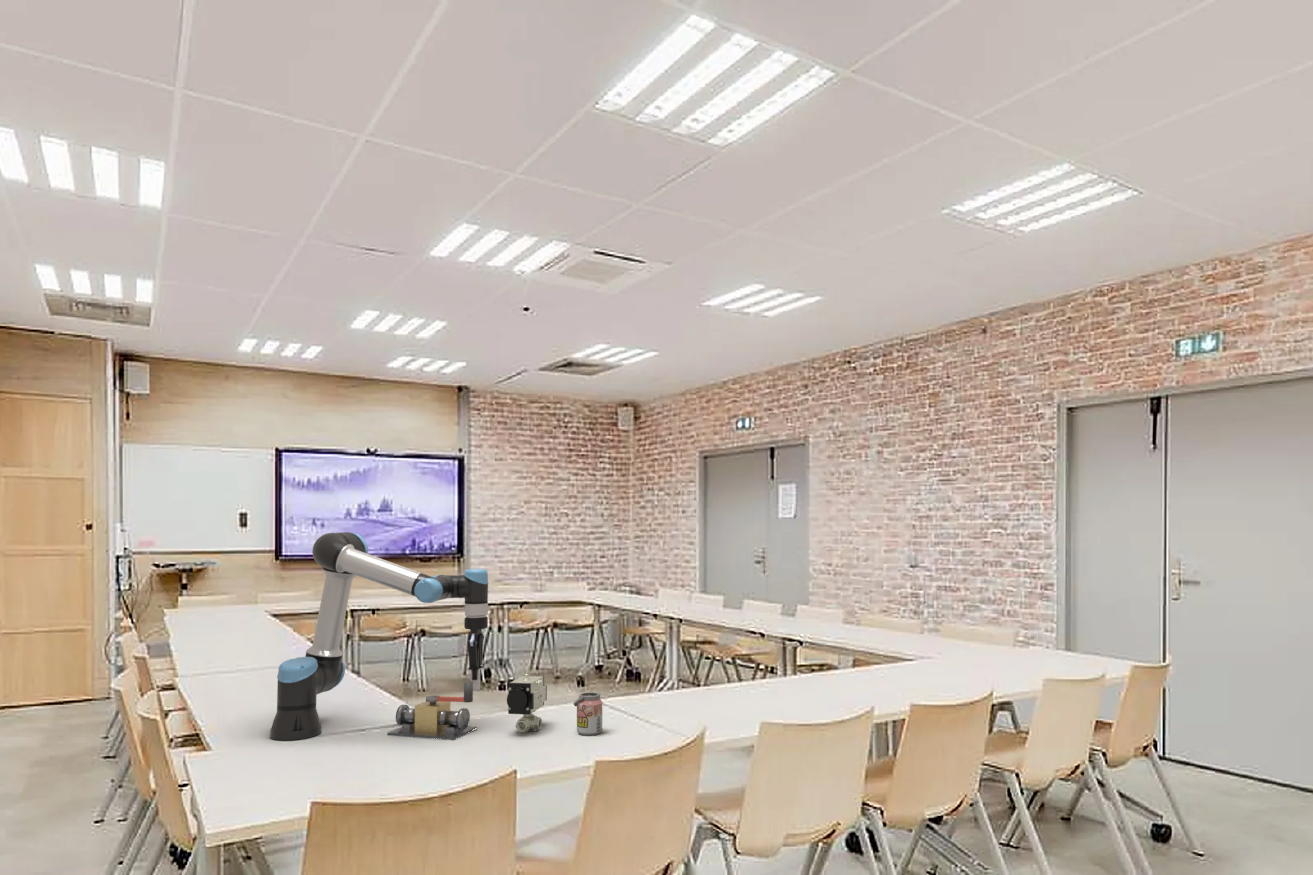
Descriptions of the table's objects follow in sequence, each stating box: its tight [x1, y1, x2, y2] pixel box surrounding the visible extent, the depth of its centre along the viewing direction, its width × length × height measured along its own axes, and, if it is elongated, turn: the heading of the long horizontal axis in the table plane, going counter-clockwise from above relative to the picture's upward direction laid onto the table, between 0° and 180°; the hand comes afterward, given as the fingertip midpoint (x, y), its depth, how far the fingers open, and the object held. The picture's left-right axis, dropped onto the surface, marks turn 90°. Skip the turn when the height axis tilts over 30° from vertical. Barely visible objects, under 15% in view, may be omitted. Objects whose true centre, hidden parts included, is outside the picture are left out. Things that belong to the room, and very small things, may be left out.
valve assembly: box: [386, 701, 478, 741], centre depth 274 cm, size 24×14×10 cm, turn 73°
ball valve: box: [506, 673, 548, 734], centre depth 275 cm, size 18×8×18 cm, turn 168°
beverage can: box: [573, 691, 603, 737], centre depth 271 cm, size 9×8×12 cm
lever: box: [425, 681, 474, 703], centre depth 274 cm, size 16×4×6 cm, turn 80°
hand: (475, 689), depth 278 cm, fingers closed
